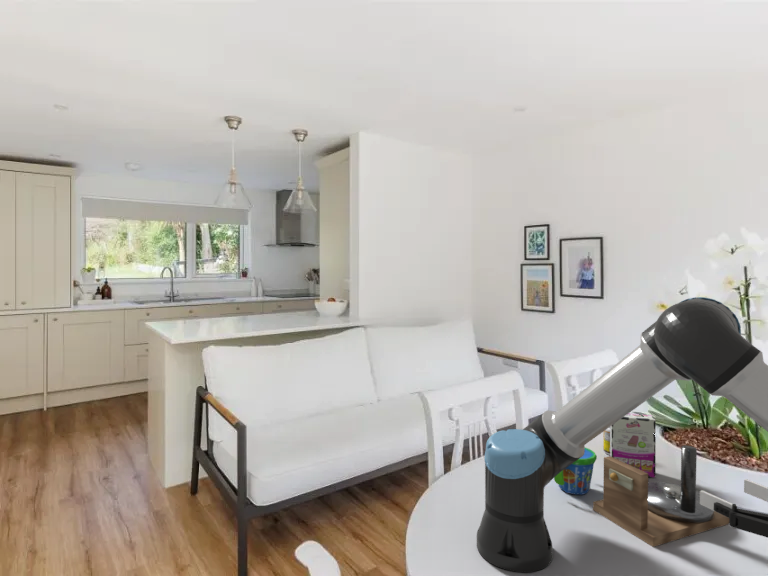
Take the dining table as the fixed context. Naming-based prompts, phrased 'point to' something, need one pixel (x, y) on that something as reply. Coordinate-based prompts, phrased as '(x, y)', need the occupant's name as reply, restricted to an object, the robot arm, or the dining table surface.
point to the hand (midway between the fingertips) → (723, 491)
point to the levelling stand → (642, 507)
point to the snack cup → (577, 474)
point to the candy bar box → (635, 442)
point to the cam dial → (680, 493)
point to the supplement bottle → (606, 441)
